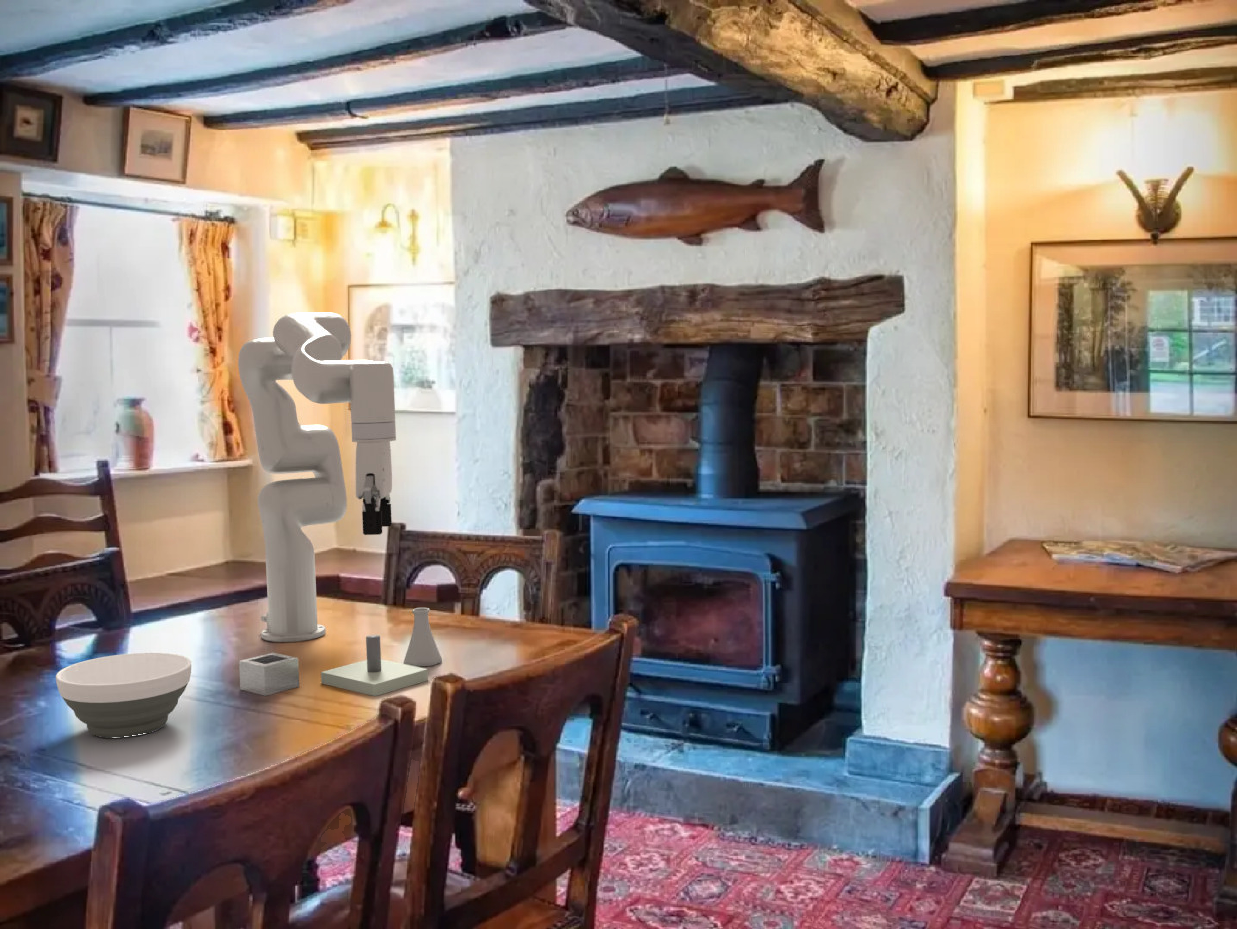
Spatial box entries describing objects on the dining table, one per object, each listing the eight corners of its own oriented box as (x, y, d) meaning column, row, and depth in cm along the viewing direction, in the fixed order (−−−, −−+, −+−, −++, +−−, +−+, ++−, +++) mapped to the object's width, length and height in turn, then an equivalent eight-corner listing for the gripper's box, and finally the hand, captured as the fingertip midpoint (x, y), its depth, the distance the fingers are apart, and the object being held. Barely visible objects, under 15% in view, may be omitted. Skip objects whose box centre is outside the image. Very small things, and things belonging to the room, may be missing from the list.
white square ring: (240, 689, 219) (239, 660, 219) (274, 680, 224) (273, 652, 224) (265, 695, 215) (263, 666, 214) (299, 686, 220) (298, 658, 220)
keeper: (321, 683, 222) (319, 638, 221) (374, 668, 231) (373, 625, 230) (374, 696, 213) (373, 649, 212) (428, 680, 223) (426, 635, 222)
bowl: (59, 756, 185) (55, 691, 184) (59, 720, 203) (55, 661, 202) (200, 736, 193) (197, 675, 192) (188, 704, 211) (185, 647, 210)
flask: (434, 668, 231) (433, 614, 230) (396, 667, 232) (394, 613, 231) (448, 658, 238) (446, 605, 237) (411, 657, 239) (409, 604, 238)
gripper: (361, 429, 231) (365, 523, 232) (342, 436, 213) (346, 538, 215) (403, 428, 231) (406, 522, 232) (387, 435, 213) (391, 537, 215)
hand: (377, 530), depth 224 cm, fingers open, 9 cm apart
